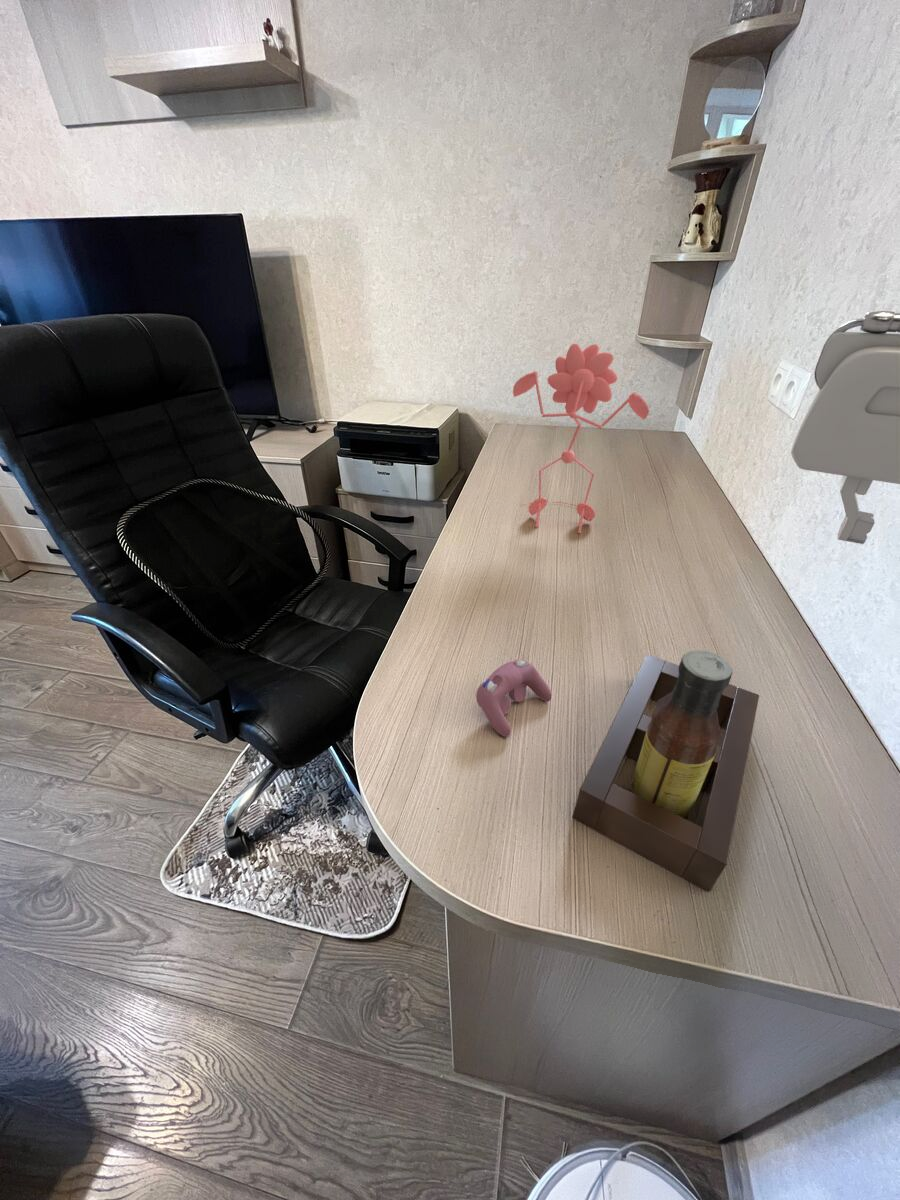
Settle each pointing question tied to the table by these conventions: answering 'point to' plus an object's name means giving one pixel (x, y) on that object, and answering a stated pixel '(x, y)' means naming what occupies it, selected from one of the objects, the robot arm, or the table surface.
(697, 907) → the table surface
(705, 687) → the sauce bottle
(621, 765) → the hole block
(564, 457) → the flower sculpture
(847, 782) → the table surface
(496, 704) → the video game controller
